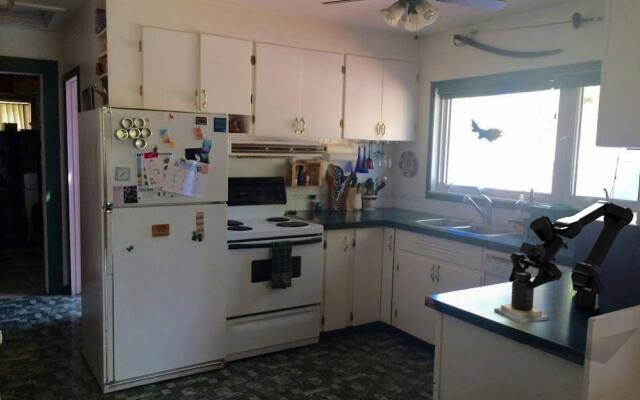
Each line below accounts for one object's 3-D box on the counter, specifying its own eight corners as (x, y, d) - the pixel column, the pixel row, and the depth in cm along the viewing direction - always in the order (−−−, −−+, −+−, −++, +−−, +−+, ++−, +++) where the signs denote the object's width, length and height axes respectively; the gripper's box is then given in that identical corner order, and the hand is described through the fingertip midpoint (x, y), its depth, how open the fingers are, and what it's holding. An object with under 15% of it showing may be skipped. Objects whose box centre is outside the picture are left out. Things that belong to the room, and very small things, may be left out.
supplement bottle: (529, 305, 175) (532, 270, 173) (535, 311, 168) (537, 275, 167) (508, 304, 176) (510, 269, 174) (513, 310, 169) (515, 274, 168)
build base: (522, 308, 180) (522, 301, 179) (548, 319, 169) (549, 311, 168) (494, 311, 176) (494, 304, 175) (519, 322, 164) (519, 315, 164)
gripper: (515, 229, 179) (487, 262, 177) (557, 239, 162) (527, 275, 159) (532, 250, 183) (505, 283, 180) (574, 262, 165) (545, 298, 163)
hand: (519, 284), depth 170 cm, fingers open, 9 cm apart
